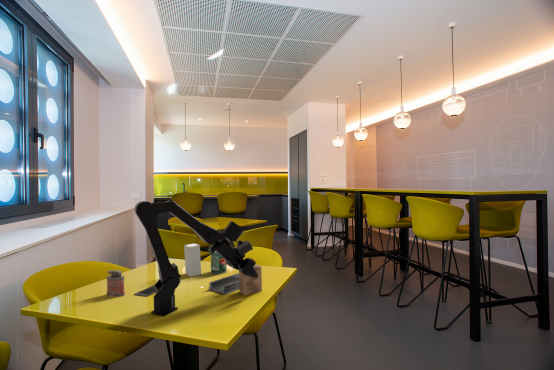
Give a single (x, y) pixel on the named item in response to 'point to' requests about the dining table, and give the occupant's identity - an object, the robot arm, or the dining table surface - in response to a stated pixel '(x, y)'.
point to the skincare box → (192, 259)
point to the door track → (225, 284)
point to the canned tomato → (218, 264)
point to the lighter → (115, 283)
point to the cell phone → (146, 292)
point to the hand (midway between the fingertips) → (253, 274)
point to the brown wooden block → (250, 282)
